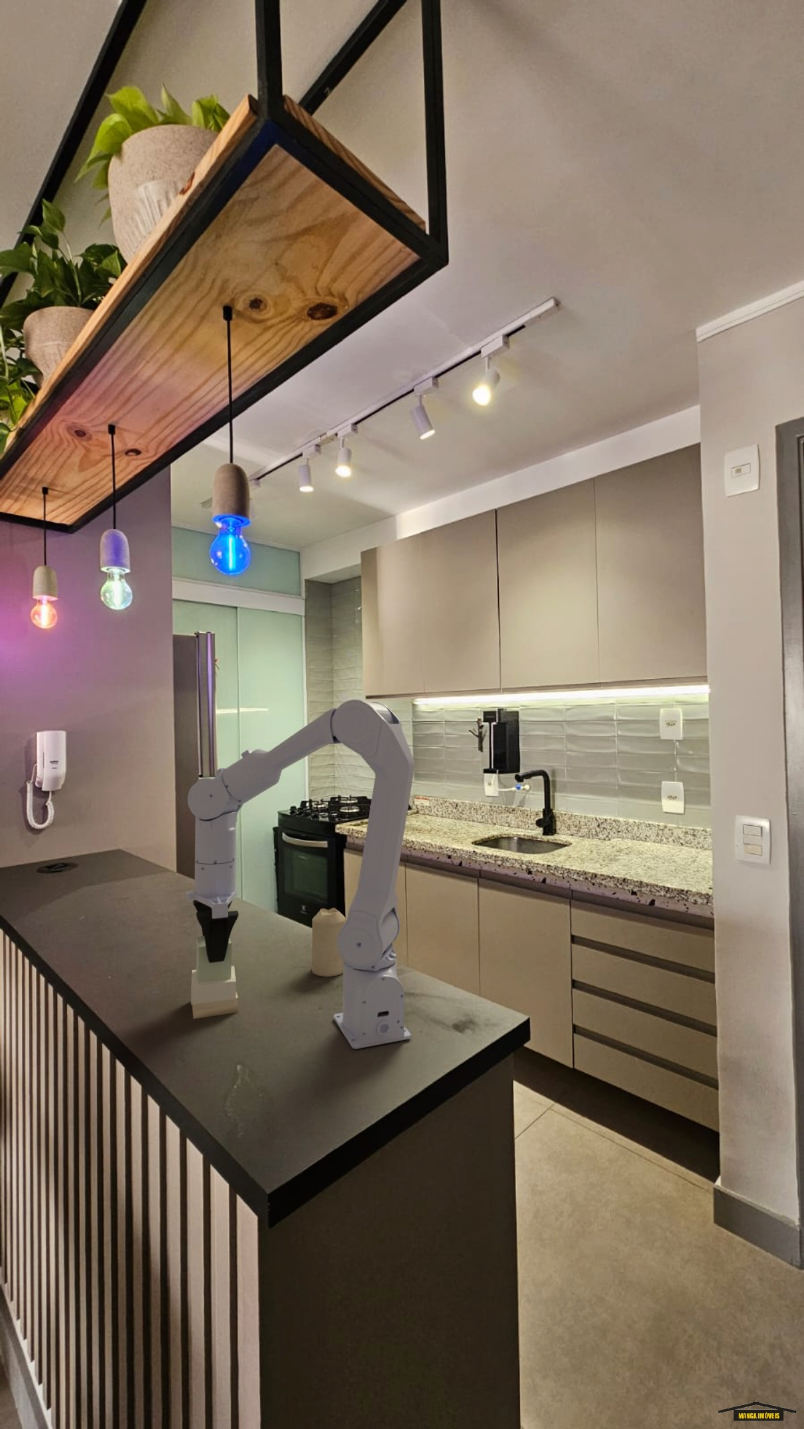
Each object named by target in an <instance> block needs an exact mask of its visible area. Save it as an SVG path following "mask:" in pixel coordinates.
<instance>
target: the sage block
mask: <svg viewBox="0 0 804 1429" xmlns="http://www.w3.org/2000/svg"><path fill="white" fill-rule="evenodd" d="M232 945H233V942H232V941H231V938H229V942H228V947H227V952H226V956H225V959H224V961H222V962H214V963H209V961H208V957H207V952H206V945H205V938H204V936H203V935H202V936H196V955H195V956H196V960H195V961H196V963H195V965H196V966H195V967H196V968H195V970H196V972H197V978H198V983H200V982H208V981H215V980H222V979H230V978H231V966H232V958H233V957H232V955H233V954H232V951H233V950H232V949H233V948H232V947H233V946H232Z"/></svg>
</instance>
